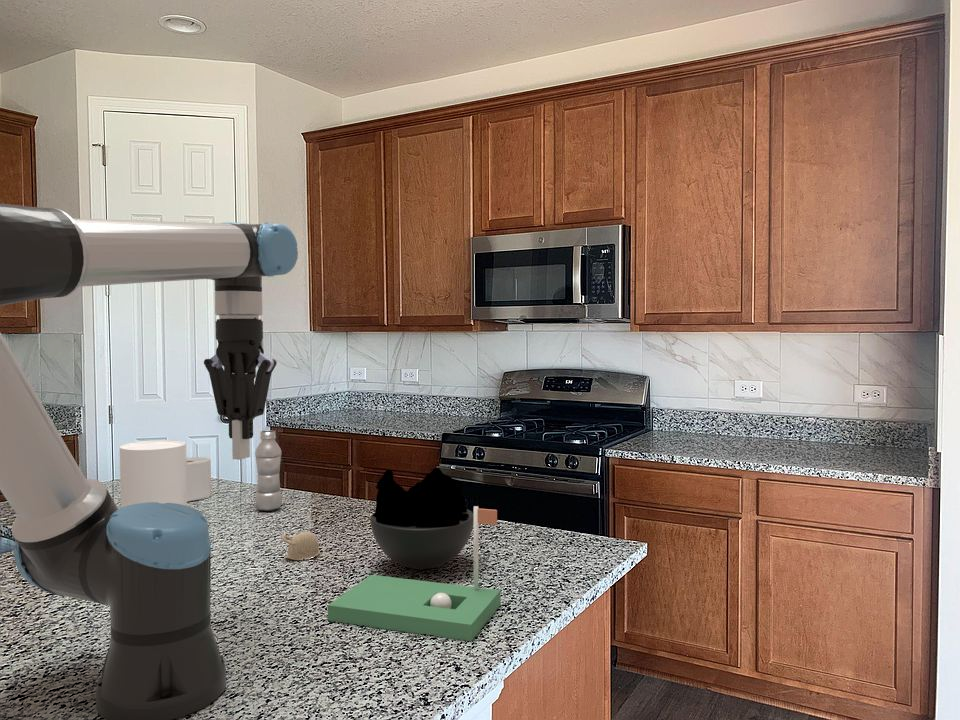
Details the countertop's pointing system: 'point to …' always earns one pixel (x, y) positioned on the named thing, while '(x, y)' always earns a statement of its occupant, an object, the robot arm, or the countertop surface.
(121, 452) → the canister
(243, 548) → the countertop surface
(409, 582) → the green
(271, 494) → the plastic bottle
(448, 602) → the ball
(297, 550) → the decorative ornament
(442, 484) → the coal bowl
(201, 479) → the toilet tissue
